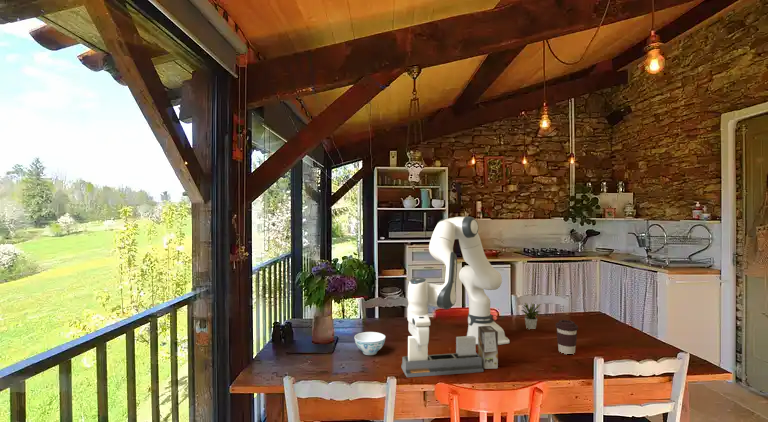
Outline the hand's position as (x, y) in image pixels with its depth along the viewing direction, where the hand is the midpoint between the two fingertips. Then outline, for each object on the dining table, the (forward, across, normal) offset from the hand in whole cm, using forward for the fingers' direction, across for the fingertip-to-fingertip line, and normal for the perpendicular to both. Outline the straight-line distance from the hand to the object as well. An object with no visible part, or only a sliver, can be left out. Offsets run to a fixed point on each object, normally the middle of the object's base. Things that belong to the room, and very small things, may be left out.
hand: (417, 348), depth 162 cm
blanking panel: (+7, 0, 0) cm, 7 cm away
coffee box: (+10, -2, +33) cm, 34 cm away
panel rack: (+10, 0, +11) cm, 14 cm away
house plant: (+10, -49, +81) cm, 95 cm away
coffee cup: (+10, -10, +78) cm, 79 cm away
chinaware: (+10, -25, -17) cm, 32 cm away
